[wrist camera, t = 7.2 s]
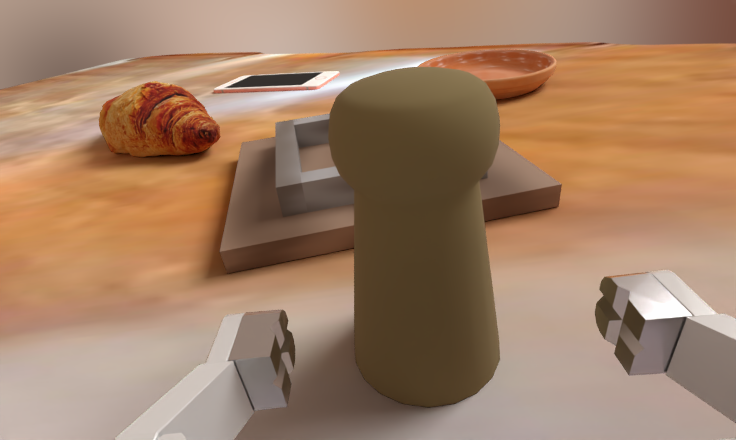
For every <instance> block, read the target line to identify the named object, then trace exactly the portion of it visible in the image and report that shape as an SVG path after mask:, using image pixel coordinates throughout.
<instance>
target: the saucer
mask: <svg viewBox="0 0 736 440" xmlns="http://www.w3.org/2000/svg"><path fill="white" fill-rule="evenodd" d="M556 64H557V62H556V59H555V58H554V57H552V56H550V55H548V54H545V53H541V52H536V51H529V50H518V49H489V50H476V51H467V52H460V53H454V54H449V55H444V56H440V57H437V58H433V59H431V60H428V61H426V62H424V63H422V64H420V65H419V66H418V67H439V68H449V69H458V70H462V71H466V72H469V73H471V74H473V75H475V76H476V77H478V78H480V79H481V80H483V81H484V82H485V83H486V84H487V85H488V87H489V89H490V90H491V92H492V94H493V95H494V97H495V99H496V100H497V99H505V98H511V97H516V96H520V95H523V94H526V93H529V92H532V91H534V90H535V89H537V88H538V87H539V86H540V85H541V84H542V83H544V82H545V81H546V80H547V79H548V78H549V77H550V76H551V75H552V74H553V73H554V71H555V68H556Z"/></svg>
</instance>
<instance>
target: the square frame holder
mask: <svg viewBox="0 0 736 440" xmlns="http://www.w3.org/2000/svg"><path fill="white" fill-rule="evenodd" d="M329 117H330V114H325V115H319V116H313V117H307V118H301V119H295V120H289V121H283V122H277V123H276V137H272V138H267V139H261V140H255V141H249V142H243V143H242V145H241V150H240V155H239V160H238V164H237V169H236V174H235V179H234V184H233V189H232V194H231V199H230V203H229V208H228V213H227V218H226V223H225V228H224V233H223V237H222V242H221V247H220V254H221V257H222V260H223V263H224V265H225V268H226V271H227V274H228V273H233V272H238V271H242V270H247V269H252V268H257V267H262V266H267V265H272V264H277V263H282V262H287V261H292V260H297V259H301V258H306V257H311V256H316V255H321V254H326V253H331V252H336V251H341V250H346V249H351V248H354V189H353V188H352V187H351V186H350V185H348V184H347V182H346V181H345V180H344V179H343V178H342V177H341V176H340V175H339V173H338V171H337V168H336V166H335V164H334V162H333V160H332V156H331V151H330V145H329V140H328V130H329ZM479 182H480V190H481V198H482V206H483V214H484V221H488V220H493V219H498V218H503V217H508V216H513V215H518V214H523V213H528V212H533V211H538V210H543V209H547V208H552V207H557V206H559V200H560V192H561V185H562V184H561V183H559V182H558V181H556V180H555V179H554V178H552V177H551V176H549V175H548V174H547V173H545V172H544V171H542V170H541V169H539V168H538V167H537V166H535V165H534V164H532V163H531V162H530V161H528V160H527V159H525V158H524V157H523V156H521V155H520V154H518V153H517V152H516V151H514V150H513V149H511V148H510V147H509V146H507V145H506V144H504V143H503V142H501V141H500V140H499V146H498V149H497V152H496V155H495V158H494V161H493V164H492V166H491V167H490V168H489V169H488V171H487V172H486V173H485V174H484V176H483V177H482V178H481V179H480V181H479Z"/></svg>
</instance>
